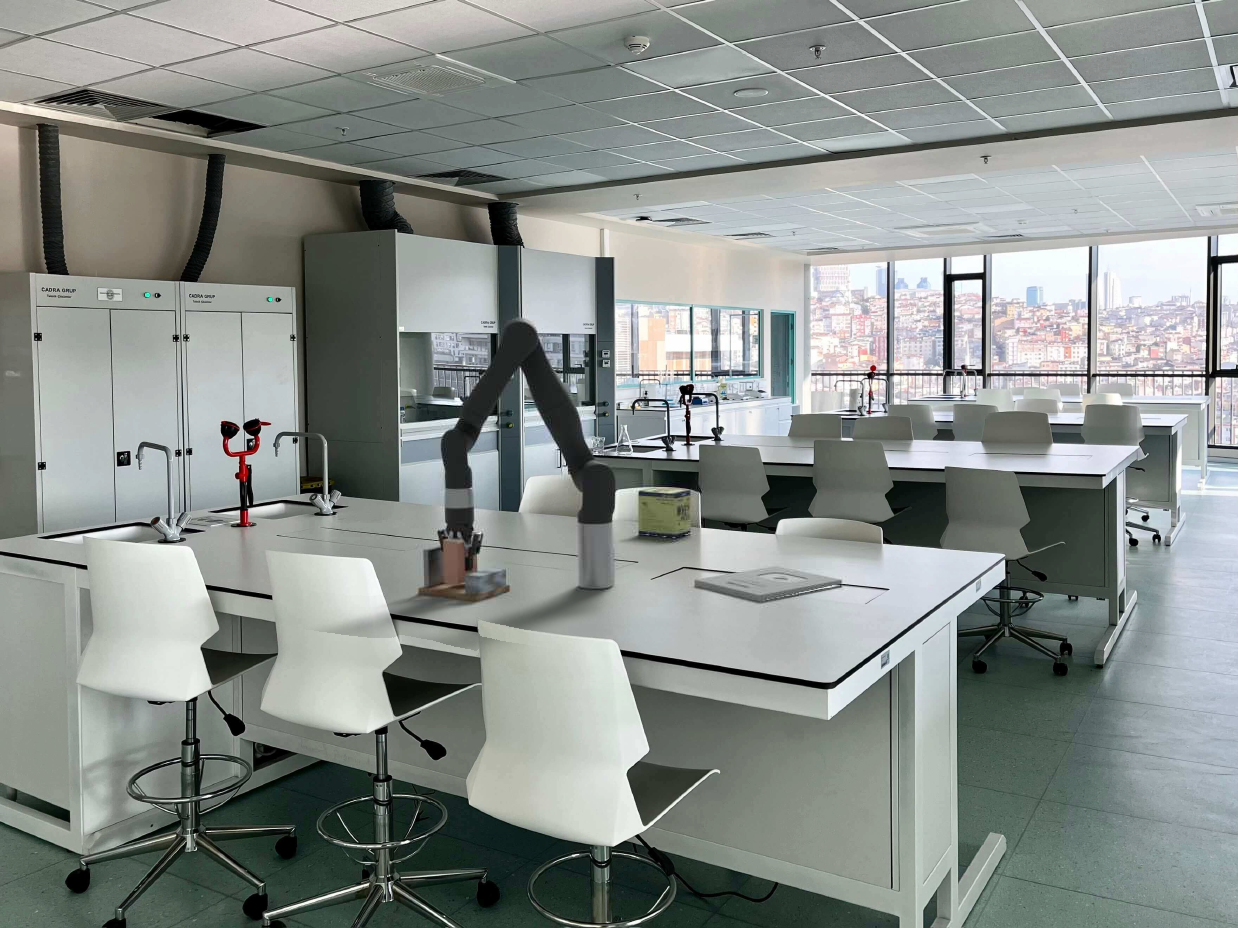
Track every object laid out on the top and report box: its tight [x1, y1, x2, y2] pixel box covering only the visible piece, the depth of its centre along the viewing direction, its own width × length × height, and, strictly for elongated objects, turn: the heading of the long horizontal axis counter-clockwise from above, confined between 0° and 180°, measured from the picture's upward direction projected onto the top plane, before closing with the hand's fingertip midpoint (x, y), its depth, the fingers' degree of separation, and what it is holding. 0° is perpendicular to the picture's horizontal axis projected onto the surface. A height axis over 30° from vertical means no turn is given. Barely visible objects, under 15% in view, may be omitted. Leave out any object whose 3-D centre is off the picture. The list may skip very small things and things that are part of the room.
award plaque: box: [694, 565, 843, 602], centre depth 275 cm, size 25×30×2 cm
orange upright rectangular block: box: [443, 539, 478, 584], centre depth 271 cm, size 8×5×11 cm, turn 149°
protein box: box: [637, 487, 692, 539], centre depth 360 cm, size 10×16×16 cm
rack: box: [417, 567, 511, 602], centre depth 271 cm, size 14×19×6 cm
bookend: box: [422, 545, 444, 586], centre depth 275 cm, size 11×2×10 cm, turn 149°
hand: (461, 569), depth 271 cm, fingers closed on orange upright rectangular block, 4 cm apart
